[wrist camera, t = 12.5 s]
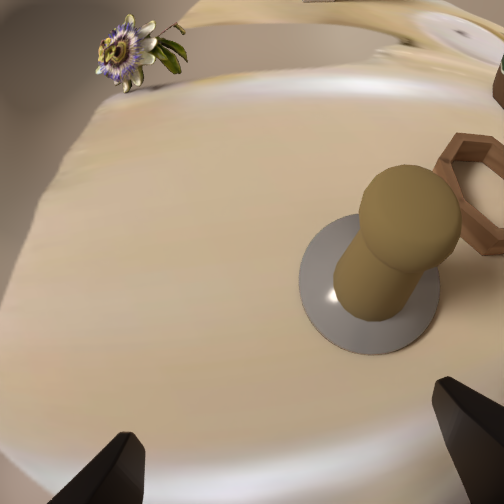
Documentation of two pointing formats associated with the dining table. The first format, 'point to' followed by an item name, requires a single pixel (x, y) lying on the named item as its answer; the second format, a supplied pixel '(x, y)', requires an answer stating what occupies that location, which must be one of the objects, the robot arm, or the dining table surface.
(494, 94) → the beer bottle
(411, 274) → the cork
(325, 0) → the coffee box
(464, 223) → the guard ring
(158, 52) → the passion flower
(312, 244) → the slate coaster
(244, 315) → the dining table surface
